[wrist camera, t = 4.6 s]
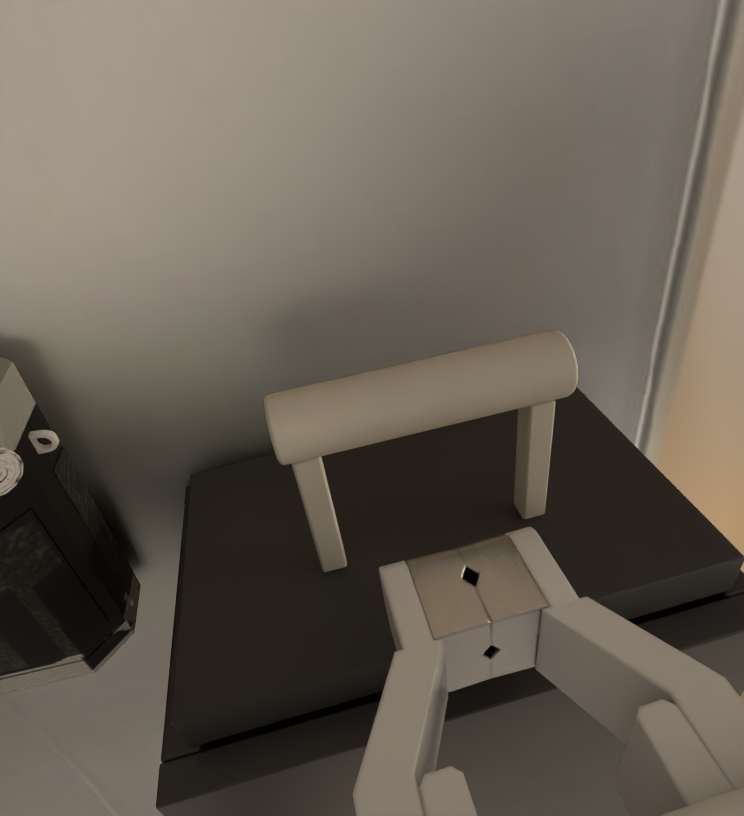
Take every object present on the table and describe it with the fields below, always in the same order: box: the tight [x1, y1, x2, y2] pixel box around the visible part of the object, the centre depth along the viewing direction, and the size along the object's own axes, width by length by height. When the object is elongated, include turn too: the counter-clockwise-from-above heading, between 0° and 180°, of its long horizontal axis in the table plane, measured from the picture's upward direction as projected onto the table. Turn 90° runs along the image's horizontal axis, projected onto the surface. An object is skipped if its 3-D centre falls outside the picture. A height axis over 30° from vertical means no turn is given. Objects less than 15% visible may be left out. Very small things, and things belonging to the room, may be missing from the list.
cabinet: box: [156, 486, 744, 816], centre depth 19 cm, size 15×14×9 cm
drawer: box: [170, 330, 744, 747], centre depth 16 cm, size 18×12×7 cm
